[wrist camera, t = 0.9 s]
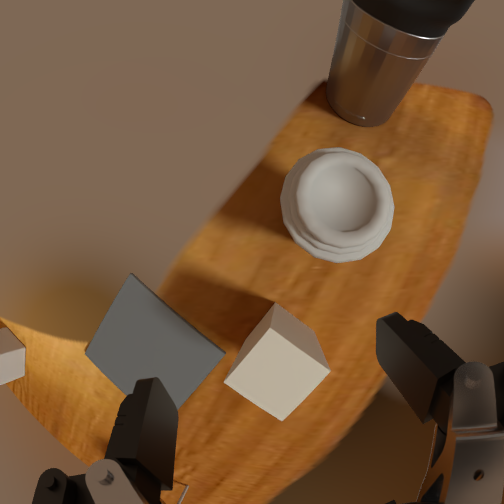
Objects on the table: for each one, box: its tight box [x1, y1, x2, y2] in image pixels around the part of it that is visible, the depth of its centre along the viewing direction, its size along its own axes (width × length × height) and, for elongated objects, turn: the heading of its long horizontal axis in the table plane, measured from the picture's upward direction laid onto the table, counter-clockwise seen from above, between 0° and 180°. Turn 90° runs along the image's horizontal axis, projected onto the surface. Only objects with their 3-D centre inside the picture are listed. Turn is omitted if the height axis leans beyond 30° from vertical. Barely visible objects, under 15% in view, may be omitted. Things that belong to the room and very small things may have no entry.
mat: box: [85, 273, 226, 410], centre depth 32 cm, size 15×15×1 cm
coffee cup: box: [280, 147, 394, 263], centre depth 24 cm, size 9×9×12 cm
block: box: [224, 302, 330, 421], centre depth 24 cm, size 6×6×12 cm
